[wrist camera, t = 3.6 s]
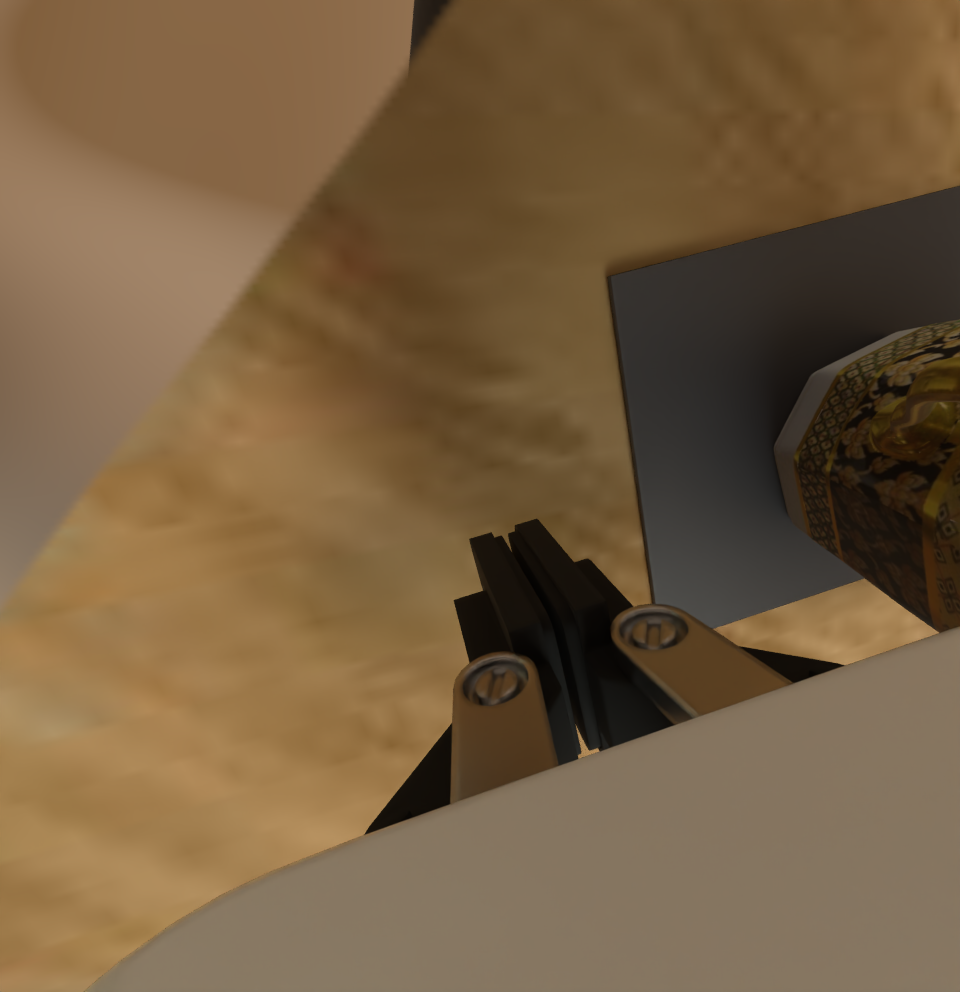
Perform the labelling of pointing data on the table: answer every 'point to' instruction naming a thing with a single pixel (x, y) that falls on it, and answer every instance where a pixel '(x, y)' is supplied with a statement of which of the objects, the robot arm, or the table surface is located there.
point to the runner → (759, 387)
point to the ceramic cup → (884, 467)
